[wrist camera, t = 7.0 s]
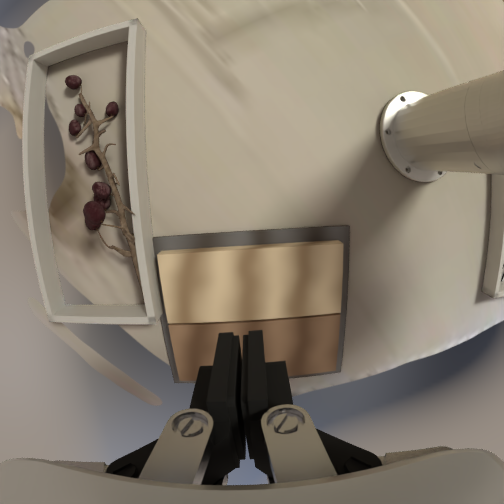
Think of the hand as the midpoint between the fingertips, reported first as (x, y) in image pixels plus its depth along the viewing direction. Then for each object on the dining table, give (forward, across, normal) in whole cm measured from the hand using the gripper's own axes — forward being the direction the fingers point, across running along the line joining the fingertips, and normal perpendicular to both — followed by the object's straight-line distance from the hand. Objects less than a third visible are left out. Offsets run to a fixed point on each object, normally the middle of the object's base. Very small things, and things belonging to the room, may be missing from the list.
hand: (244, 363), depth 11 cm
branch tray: (+26, +20, -10) cm, 34 cm away
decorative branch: (+27, +17, -9) cm, 33 cm away
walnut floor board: (+26, 0, +11) cm, 29 cm away
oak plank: (+26, 0, +6) cm, 27 cm away
